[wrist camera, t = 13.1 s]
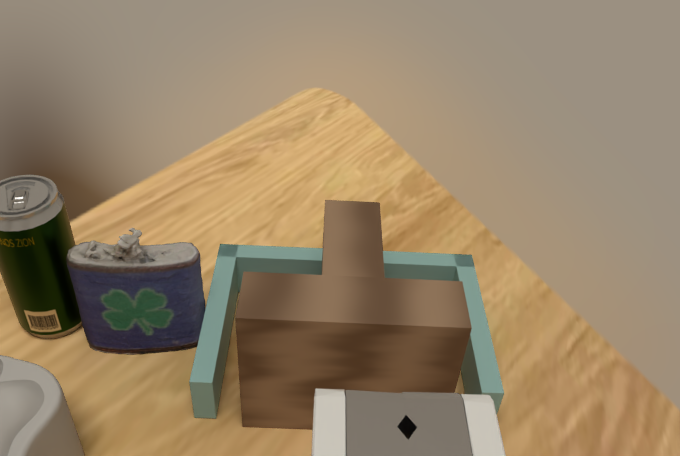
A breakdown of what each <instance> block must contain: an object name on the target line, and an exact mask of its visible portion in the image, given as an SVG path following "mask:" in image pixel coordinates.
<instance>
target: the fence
mask: <svg viewBox="0 0 680 456" xmlns="http://www.w3.org/2000/svg"><path fill="white" fill-rule="evenodd" d="M322 252H323V248H299V247H276V246H253V245H230V244H220V247H219V251H218V256H217V260H216V265H215V269H214V274H213V278H212V283H211V287H210V292H209V296H208V301H207V305H206V310H205V314H204V319H203V323H202V328H201V332H200V337H199V341H198V346H197V350H196V355H195V359H194V364H193V368H192V373H191V377H190V382H189V383H190V390H191V396H192V403H193V410H194V417H195V418H216V416H217V411H218V405H219V399H220V393H221V388H222V382H223V376H224V371H225V365H226V359H227V353H228V348H229V342H230V336H231V330H232V325H233V319H234V313H235V307H236V302H237V296H238V292H240V289H241V283H242V278H243V272H266V273H289V274H311V275H321V272H322ZM383 259H384V274H385V278H399V279H422V280H444V281H462V282H463V287H464V292H465V297H466V302H467V307H468V312H469V317H470V322H471V327H472V329H471V333H470V337H469V340H468V344H467V348H466V351H465V355H464V359H463V362H462V366H461V373H462V379H463V384H464V390H465V394H483V395H490V396H491V398H492V400H493V401H494V405H495V410H496V415H497V412H498V409H499V407H500V404H501V401H502V398H503V395H504V390H503V386H502V382H501V378H500V373H499V369H498V365H497V361H496V356H495V352H494V348H493V344H492V339H491V335H490V331H489V327H488V322H487V318H486V314H485V310H484V305H483V301H482V297H481V292H480V288H479V284H478V280H477V275H476V271H475V267H474V263H473V258H472V255H462V254H439V253H416V252H392V251H383Z"/></svg>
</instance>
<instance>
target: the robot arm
mask: <svg viewBox="0 0 680 456" xmlns="http://www.w3.org/2000/svg"><path fill="white" fill-rule="evenodd" d="M311 456H506V455H505V451H504V446H503V442H502V437H501V433H500V428H499V424H498V419H497V415H496V410H495V405H494V401H493V400H492V398H491V396H490V395H483V394H459V393H432V392H402V393H394V392H376V391H358V390H344V389H317V388H316V389H315V395H314V412H313V432H312V453H311Z"/></svg>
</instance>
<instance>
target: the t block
mask: <svg viewBox="0 0 680 456" xmlns="http://www.w3.org/2000/svg"><path fill="white" fill-rule="evenodd" d="M235 320H236V335H237V350H238V365H239V380H240V395H241V410H242V425H243V427H262V428H289V429H313V412H314V395H315V389H316V388H317V389H344V390H358V391H376V392H394V393H402V392H432V393H454V392H455V388H456V384H457V381H458V377H459V373H460V370H461V366H462V362H463V359H464V355H465V351H466V348H467V344H468V340H469V337H470V333H471V329H472V327H471V322H470V317H469V312H468V307H467V302H466V297H465V292H464V287H463V282H462V281H444V280H422V279H399V278H385V274H384V259H383V245H382V230H381V216H380V203H377V202H357V201H336V200H325V214H324V233H323V252H322V272H321V275H311V274H289V273H266V272H243V278H242V283H241V289H240V295H239V300H238V306H237V312H236V317H235Z"/></svg>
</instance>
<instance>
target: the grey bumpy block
mask: <svg viewBox="0 0 680 456" xmlns="http://www.w3.org/2000/svg"><path fill="white" fill-rule="evenodd" d="M0 456H85V455H84V451H83V448H82V445H81V443H80V440H79V437H78V434H77V431H76V428H75V425H74V422H73V419H72V416H71V414H70V411H69V408H68V405H67V402H66V399H65V396H64V393H63V391H62V388H61V386H60V384H59V382H58V381H57V379H56V378H55V377H54V375H53V374H51V373H50V372H49V371H48V370H46V369H45V368H43V367H41V366H39V365H37V364H33V363H30V362H27V361H22V360H18V359H14V358H11V357H7V356H2V355H0Z"/></svg>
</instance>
